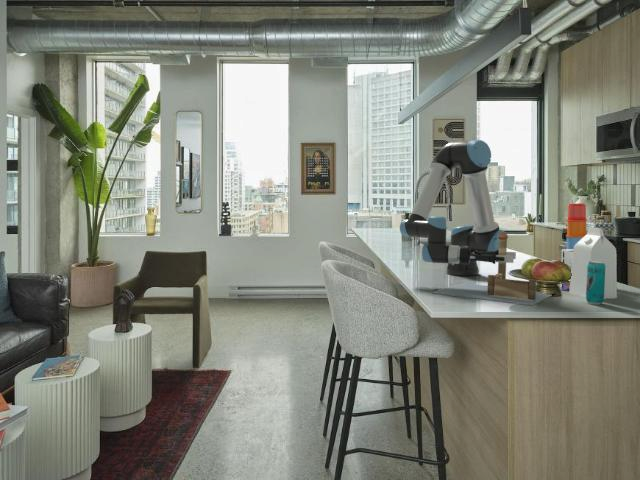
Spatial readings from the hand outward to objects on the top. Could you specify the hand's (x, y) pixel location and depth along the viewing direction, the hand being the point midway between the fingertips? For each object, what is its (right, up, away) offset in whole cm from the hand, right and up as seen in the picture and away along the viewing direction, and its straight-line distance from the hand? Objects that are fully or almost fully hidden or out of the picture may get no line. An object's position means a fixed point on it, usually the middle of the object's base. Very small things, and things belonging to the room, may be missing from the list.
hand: (514, 257), depth 219 cm
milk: (+27, -15, -8) cm, 32 cm away
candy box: (+27, -14, +4) cm, 31 cm away
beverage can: (+20, -16, -23) cm, 35 cm away
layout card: (-10, -14, -5) cm, 18 cm away
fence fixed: (-7, -14, -15) cm, 22 cm away
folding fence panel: (-8, -13, -2) cm, 15 cm away
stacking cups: (+34, -12, +20) cm, 41 cm away
